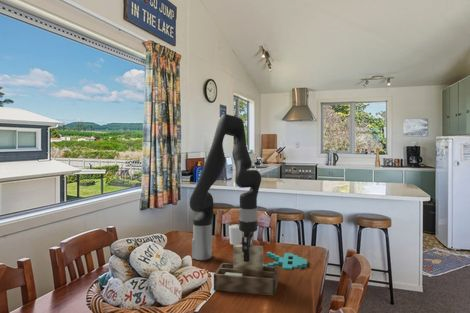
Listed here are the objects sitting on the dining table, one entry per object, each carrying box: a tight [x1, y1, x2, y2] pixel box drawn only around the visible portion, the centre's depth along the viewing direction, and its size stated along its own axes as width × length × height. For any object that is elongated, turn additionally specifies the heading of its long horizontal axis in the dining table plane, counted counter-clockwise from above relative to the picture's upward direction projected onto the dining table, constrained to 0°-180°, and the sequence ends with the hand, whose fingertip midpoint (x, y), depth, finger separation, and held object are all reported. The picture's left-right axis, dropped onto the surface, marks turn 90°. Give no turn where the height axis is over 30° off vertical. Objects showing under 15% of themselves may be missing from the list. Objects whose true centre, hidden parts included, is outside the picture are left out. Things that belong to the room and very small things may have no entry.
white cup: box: [228, 224, 243, 246], centre depth 191 cm, size 8×8×10 cm
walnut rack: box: [213, 262, 279, 296], centre depth 133 cm, size 24×13×7 cm, turn 78°
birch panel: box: [232, 244, 264, 271], centre depth 136 cm, size 12×3×15 cm, turn 78°
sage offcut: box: [224, 272, 243, 276], centre depth 131 cm, size 7×4×5 cm, turn 78°
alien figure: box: [263, 251, 308, 271], centre depth 159 cm, size 20×2×20 cm
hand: (248, 257), depth 135 cm, fingers open, 8 cm apart
